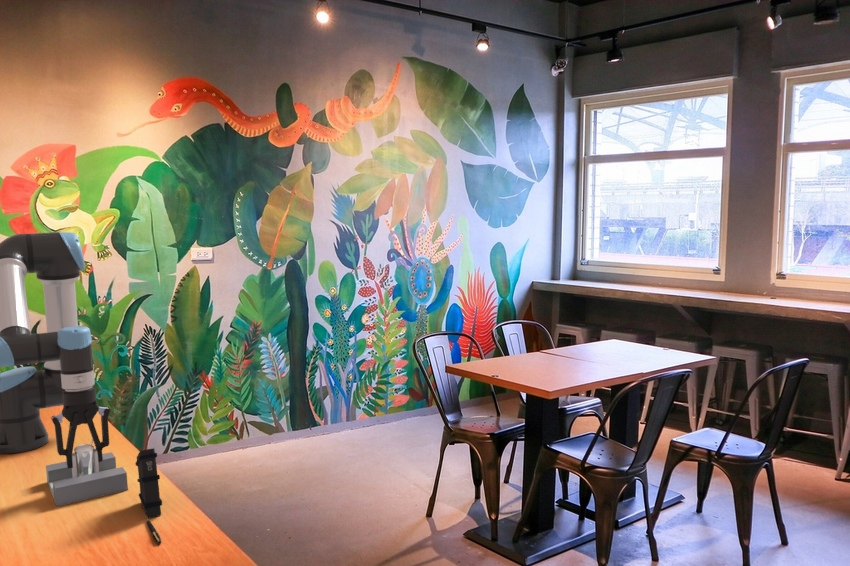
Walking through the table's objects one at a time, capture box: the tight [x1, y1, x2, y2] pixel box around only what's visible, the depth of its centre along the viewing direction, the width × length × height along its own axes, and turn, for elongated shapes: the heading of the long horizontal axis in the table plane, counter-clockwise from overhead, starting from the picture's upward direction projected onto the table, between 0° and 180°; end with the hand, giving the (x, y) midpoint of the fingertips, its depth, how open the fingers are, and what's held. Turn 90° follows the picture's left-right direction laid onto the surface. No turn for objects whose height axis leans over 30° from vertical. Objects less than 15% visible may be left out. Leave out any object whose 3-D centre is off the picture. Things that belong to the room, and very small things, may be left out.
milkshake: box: [73, 438, 95, 477], centre depth 179 cm, size 4×5×10 cm
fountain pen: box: [146, 518, 162, 545], centre depth 152 cm, size 14×1×2 cm, turn 32°
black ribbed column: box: [135, 447, 163, 519], centre depth 164 cm, size 4×13×15 cm, turn 29°
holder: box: [45, 451, 129, 507], centre depth 179 cm, size 19×16×4 cm
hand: (86, 476), depth 179 cm, fingers closed on milkshake, 4 cm apart
